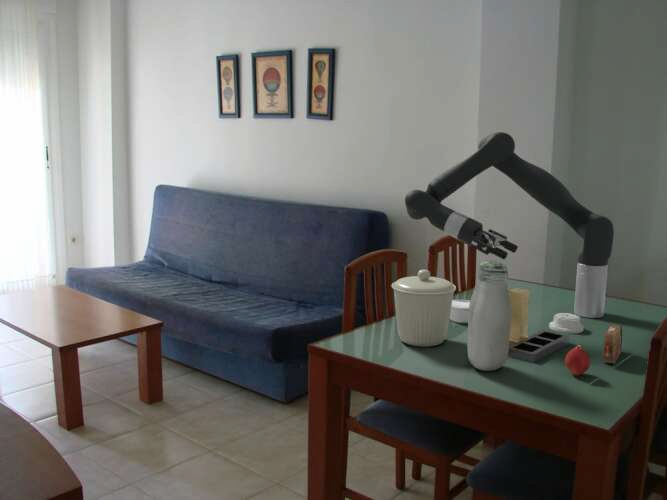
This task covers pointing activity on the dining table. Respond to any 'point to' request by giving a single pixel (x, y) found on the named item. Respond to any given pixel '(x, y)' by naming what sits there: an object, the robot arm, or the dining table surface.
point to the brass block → (519, 313)
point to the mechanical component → (566, 323)
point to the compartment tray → (538, 345)
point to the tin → (612, 344)
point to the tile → (516, 340)
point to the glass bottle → (489, 317)
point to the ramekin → (459, 311)
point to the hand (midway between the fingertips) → (511, 253)
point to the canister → (423, 308)
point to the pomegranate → (577, 361)
